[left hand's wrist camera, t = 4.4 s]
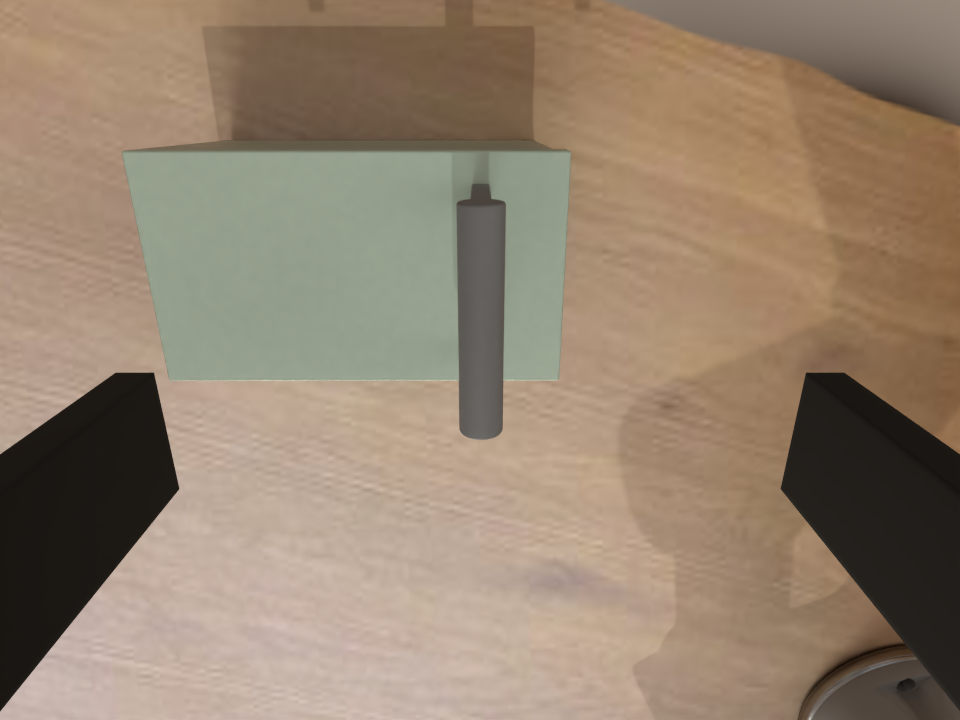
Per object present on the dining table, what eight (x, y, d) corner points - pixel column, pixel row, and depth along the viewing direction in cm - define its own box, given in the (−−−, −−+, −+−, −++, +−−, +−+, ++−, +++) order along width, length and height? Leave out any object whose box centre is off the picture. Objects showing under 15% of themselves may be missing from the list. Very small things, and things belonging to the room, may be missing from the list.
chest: (534, 140, 33) (554, 149, 24) (529, 307, 37) (545, 370, 28) (230, 139, 33) (136, 149, 24) (254, 307, 37) (181, 370, 28)
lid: (567, 149, 24) (608, 164, 16) (556, 371, 28) (585, 468, 20) (136, 149, 24) (-24, 165, 16) (180, 371, 28) (66, 469, 20)
